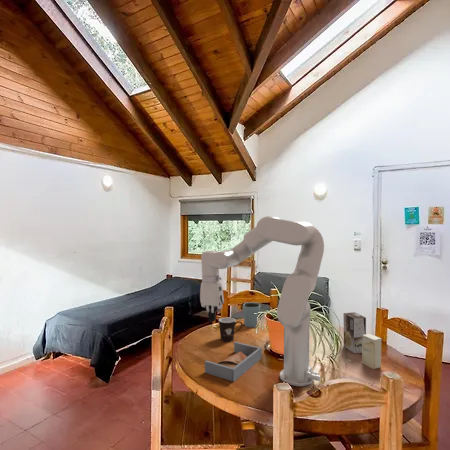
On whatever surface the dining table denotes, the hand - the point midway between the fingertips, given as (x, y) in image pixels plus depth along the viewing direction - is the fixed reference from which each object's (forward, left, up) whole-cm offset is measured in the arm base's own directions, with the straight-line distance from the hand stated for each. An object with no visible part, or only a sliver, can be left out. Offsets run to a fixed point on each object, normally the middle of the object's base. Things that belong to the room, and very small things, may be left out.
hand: (212, 320), depth 136 cm
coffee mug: (+5, -23, -17) cm, 29 cm away
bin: (-11, 0, -17) cm, 20 cm away
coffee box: (-51, -44, -17) cm, 70 cm away
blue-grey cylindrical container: (+6, -49, -17) cm, 52 cm away
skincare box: (-60, -30, -17) cm, 69 cm away
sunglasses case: (-12, +1, -17) cm, 21 cm away
